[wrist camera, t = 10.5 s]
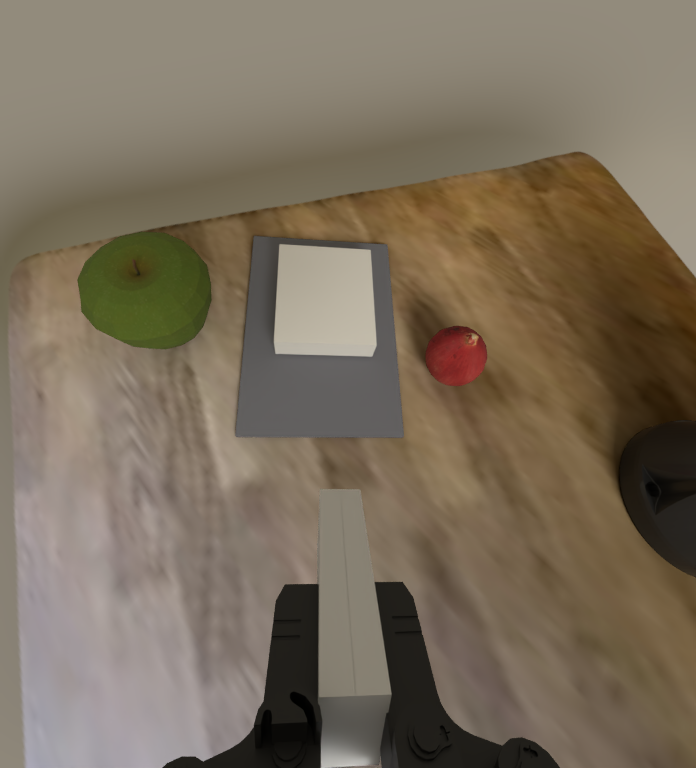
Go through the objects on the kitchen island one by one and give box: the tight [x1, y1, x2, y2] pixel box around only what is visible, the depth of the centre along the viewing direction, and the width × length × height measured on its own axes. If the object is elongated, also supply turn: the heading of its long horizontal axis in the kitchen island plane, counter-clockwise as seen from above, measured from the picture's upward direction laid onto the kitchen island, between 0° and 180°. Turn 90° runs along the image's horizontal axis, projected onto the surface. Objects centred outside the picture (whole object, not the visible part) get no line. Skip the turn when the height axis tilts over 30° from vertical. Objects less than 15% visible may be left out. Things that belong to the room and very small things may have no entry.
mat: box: [235, 236, 404, 438], centre depth 40 cm, size 24×16×1 cm, turn 1°
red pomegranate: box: [425, 326, 487, 386], centre depth 36 cm, size 6×6×8 cm
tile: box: [274, 244, 377, 357], centre depth 39 cm, size 3×10×12 cm
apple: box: [78, 232, 211, 349], centre depth 34 cm, size 11×10×10 cm
